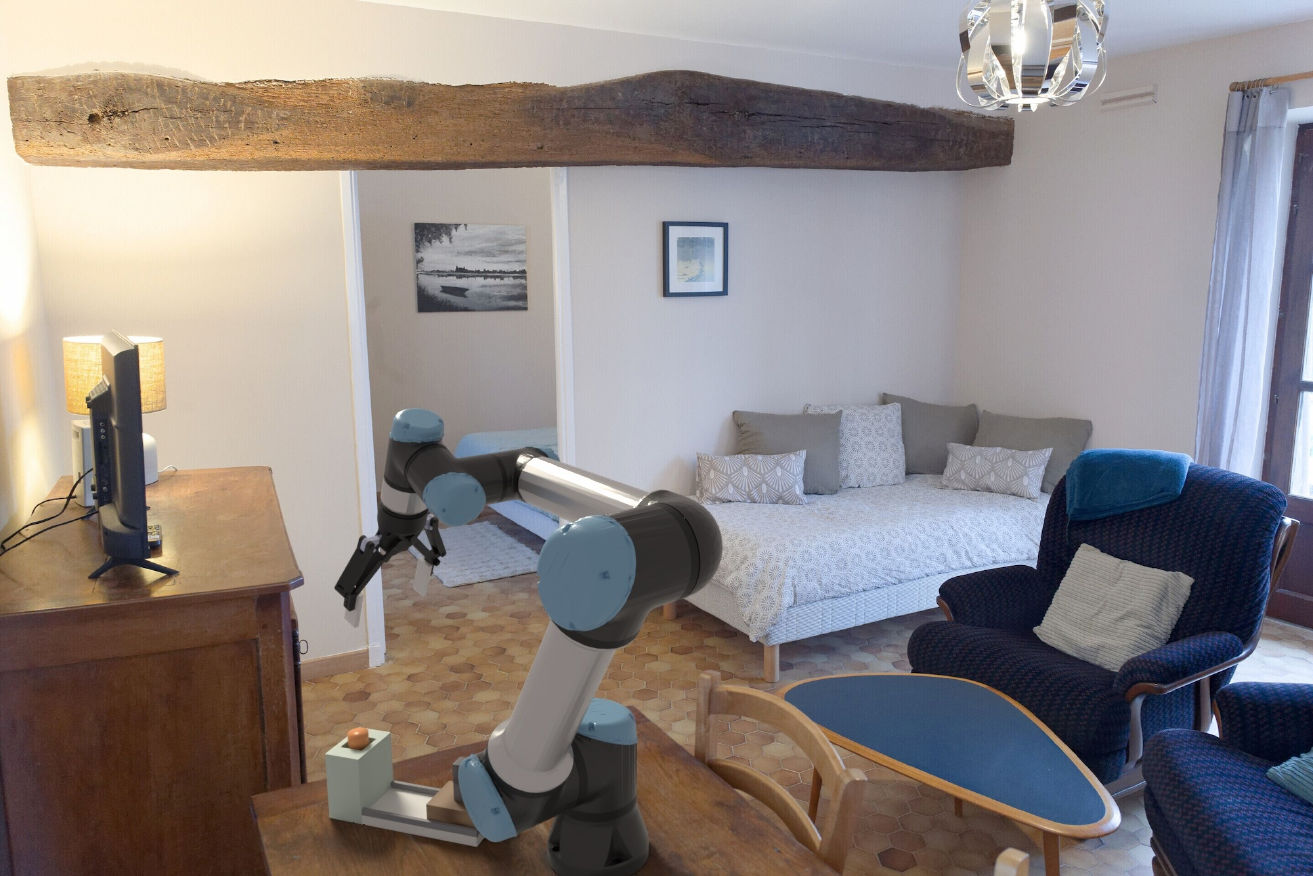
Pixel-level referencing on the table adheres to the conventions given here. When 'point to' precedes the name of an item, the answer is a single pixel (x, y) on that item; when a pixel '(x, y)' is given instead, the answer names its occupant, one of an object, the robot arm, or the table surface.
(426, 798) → the track
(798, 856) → the table surface
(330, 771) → the end cabinet
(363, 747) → the button
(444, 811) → the carriage
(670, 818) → the table surface
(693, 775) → the table surface
